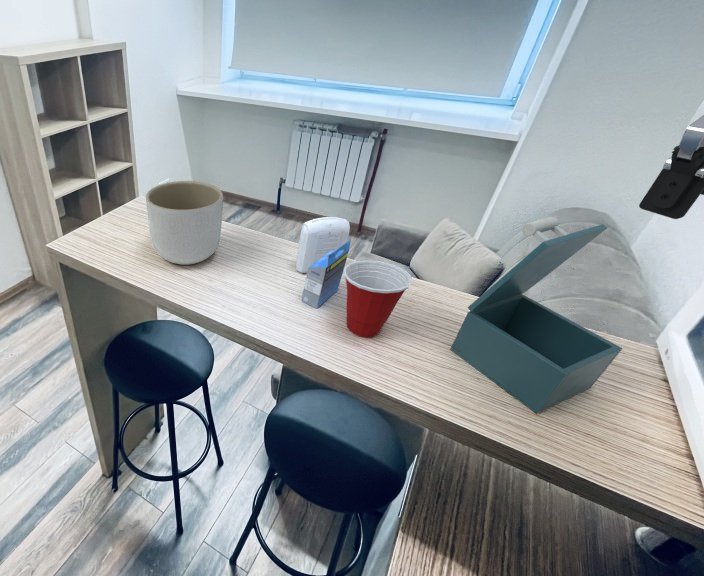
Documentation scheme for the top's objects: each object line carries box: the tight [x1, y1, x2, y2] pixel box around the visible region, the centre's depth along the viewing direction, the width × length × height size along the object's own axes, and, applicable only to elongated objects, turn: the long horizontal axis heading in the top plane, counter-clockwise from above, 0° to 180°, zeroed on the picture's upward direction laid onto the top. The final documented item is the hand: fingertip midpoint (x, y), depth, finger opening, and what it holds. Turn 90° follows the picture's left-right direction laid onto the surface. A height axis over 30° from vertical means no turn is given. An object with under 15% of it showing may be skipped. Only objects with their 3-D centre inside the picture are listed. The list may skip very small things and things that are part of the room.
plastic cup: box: [343, 259, 413, 339], centre depth 72 cm, size 11×11×12 cm
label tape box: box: [301, 238, 352, 309], centre depth 80 cm, size 9×4×12 cm, turn 136°
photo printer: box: [295, 216, 351, 274], centre depth 88 cm, size 10×4×12 cm, turn 98°
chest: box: [450, 293, 623, 414], centre depth 64 cm, size 15×13×8 cm
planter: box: [145, 180, 224, 266], centre depth 94 cm, size 17×17×15 cm
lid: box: [467, 216, 609, 312], centre depth 62 cm, size 15×13×5 cm
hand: (687, 204), depth 41 cm, fingers open, 9 cm apart
